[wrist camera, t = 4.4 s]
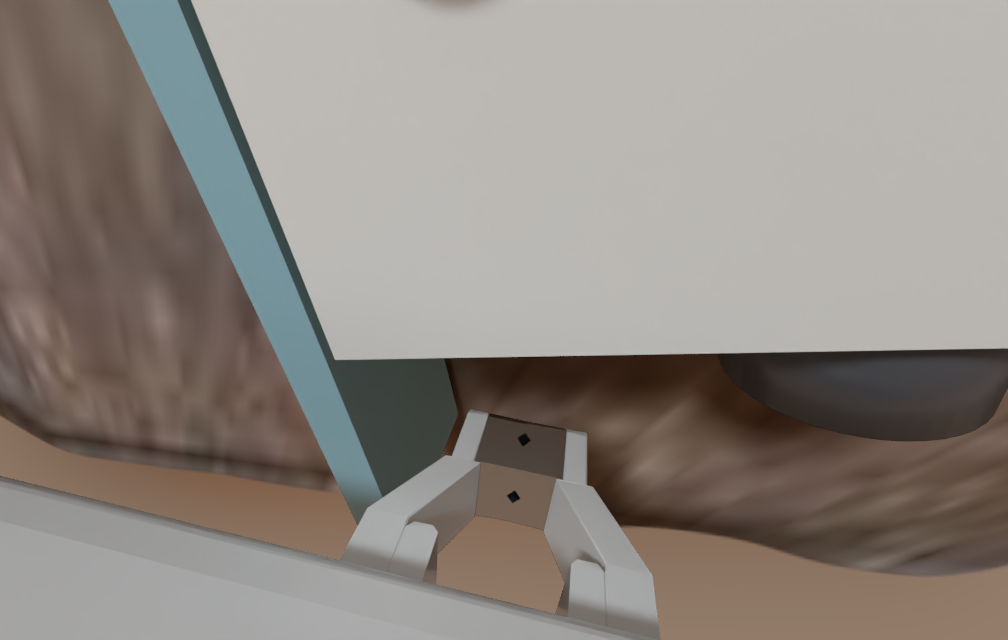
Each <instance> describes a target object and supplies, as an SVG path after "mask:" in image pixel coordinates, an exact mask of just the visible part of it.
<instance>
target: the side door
mask: <svg viewBox="0 0 1008 640" xmlns="http://www.w3.org/2000/svg"><path fill="white" fill-rule="evenodd" d="M108 1H109V3H110V5H111V7H112V9H113V11H114V13H115V15H116V17H117V20H118V22H119V24H120V26H121V28H122V30H123V32H124V34H125V36H126V39H127V41H128V43H129V45H130V47H131V49H132V51H133V53H134V55H135V58H136V60H137V62H138V64H139V66H140V68H141V70H142V72H143V74H144V76H145V79H146V81H147V83H148V85H149V87H150V89H151V91H152V93H153V95H154V98H155V100H156V102H157V104H158V106H159V108H160V110H161V112H162V114H163V117H164V119H165V121H166V123H167V125H168V127H169V129H170V131H171V133H172V135H173V138H174V140H175V142H176V144H177V146H178V148H179V150H180V152H181V154H182V157H183V159H184V161H185V163H186V165H187V167H188V169H189V171H190V173H191V176H192V178H193V180H194V182H195V184H196V186H197V188H198V190H199V192H200V194H201V197H202V199H203V201H204V203H205V205H206V207H207V209H208V211H209V213H210V216H211V218H212V220H213V222H214V224H215V226H216V228H217V230H218V232H219V235H220V237H221V239H222V241H223V243H224V245H225V247H226V249H227V251H228V253H229V256H230V258H231V260H232V262H233V264H234V266H235V268H236V270H237V272H238V275H239V277H240V279H241V281H242V283H243V285H244V287H245V289H246V291H247V294H248V296H249V298H250V300H251V302H252V304H253V306H254V308H255V310H256V312H257V315H258V317H259V319H260V321H261V323H262V325H263V327H264V329H265V331H266V334H267V336H268V338H269V340H270V342H271V344H272V346H273V348H274V350H275V353H276V355H277V357H278V359H279V361H280V363H281V365H282V367H283V369H284V371H285V374H286V376H287V378H288V380H289V382H290V384H291V386H292V388H293V390H294V393H295V395H296V397H297V399H298V401H299V403H300V405H301V407H302V409H303V412H304V414H305V416H306V418H307V420H308V422H309V424H310V426H311V428H312V430H313V433H314V435H315V437H316V439H317V441H318V443H319V445H320V447H321V449H322V452H323V454H324V456H325V458H326V460H327V462H328V464H329V466H330V468H331V471H332V473H333V475H334V477H335V479H336V481H337V483H338V485H339V487H340V489H341V492H342V494H343V496H344V498H345V500H346V502H347V504H348V506H349V508H350V511H351V513H352V515H353V517H354V519H355V521H356V523H357V525H359V523H360V521H361V519H362V517H363V515H364V513H365V512H366V510H367V508H368V507H370V506H371V505H373V504H374V503H376V502H377V501H378V500H380V499H381V498H383V497H384V496H386V495H387V494H389V493H390V492H392V491H393V490H395V489H396V488H398V487H399V486H401V485H402V484H404V483H405V482H407V481H408V480H410V479H411V478H413V477H414V476H416V475H417V474H419V473H420V472H422V471H423V470H424V469H426V468H427V467H429V466H430V465H432V464H433V463H435V462H436V461H438V460H439V459H440V458H441V456H442V453H443V451H444V448H445V446H446V443H447V441H448V439H449V436H450V434H451V431H452V429H453V426H454V424H455V421H456V419H457V417H458V411H457V407H456V403H455V399H454V395H453V391H452V387H451V383H450V379H449V375H448V372H447V368H446V364H445V360H444V358H424V359H366V360H335V359H334V356H333V354H332V351H331V349H330V346H329V344H328V341H327V339H326V336H325V334H324V331H323V329H322V326H321V324H320V321H319V319H318V316H317V314H316V311H315V309H314V306H313V304H312V301H311V299H310V296H309V294H308V291H307V289H306V286H305V284H304V281H303V279H302V276H301V274H300V271H299V269H298V266H297V264H296V261H295V259H294V256H293V254H292V251H291V249H290V246H289V244H288V241H287V239H286V236H285V234H284V231H283V229H282V226H281V224H280V221H279V219H278V216H277V214H276V211H275V209H274V206H273V204H272V201H271V199H270V196H269V194H268V191H267V189H266V186H265V184H264V181H263V179H262V176H261V174H260V171H259V169H258V166H257V164H256V161H255V159H254V156H253V154H252V151H251V149H250V146H249V144H248V141H247V139H246V136H245V134H244V131H243V129H242V126H241V124H240V121H239V119H238V116H237V114H236V111H235V109H234V106H233V104H232V101H231V99H230V97H229V94H228V92H227V89H226V87H225V84H224V82H223V79H222V77H221V74H220V72H219V69H218V67H217V64H216V62H215V59H214V57H213V54H212V52H211V49H210V47H209V44H208V42H207V39H206V37H205V34H204V32H203V29H202V27H201V24H200V22H199V19H198V17H197V14H196V12H195V9H194V7H193V4H192V2H191V0H108Z"/></svg>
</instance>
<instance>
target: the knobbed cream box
mask: <svg viewBox="0 0 1008 640" xmlns="http://www.w3.org/2000/svg"><path fill="white" fill-rule="evenodd" d="M191 2H192V4H193V7H194V9H195V12H196V14H197V17H198V19H199V22H200V24H201V27H202V29H203V32H204V34H205V37H206V39H207V42H208V44H209V47H210V49H211V52H212V54H213V57H214V59H215V62H216V64H217V67H218V69H219V72H220V74H221V77H222V79H223V82H224V84H225V87H226V89H227V92H228V94H229V97H230V99H231V101H232V104H233V106H234V109H235V111H236V114H237V116H238V119H239V121H240V124H241V126H242V129H243V131H244V134H245V136H246V139H247V141H248V144H249V146H250V149H251V151H252V154H253V156H254V159H255V161H256V164H257V166H258V169H259V171H260V174H261V176H262V179H263V181H264V184H265V186H266V189H267V191H268V194H269V196H270V199H271V201H272V204H273V206H274V209H275V211H276V214H277V216H278V219H279V221H280V224H281V226H282V229H283V231H284V234H285V236H286V239H287V241H288V244H289V246H290V249H291V251H292V254H293V256H294V259H295V261H296V264H297V266H298V269H299V271H300V274H301V276H302V279H303V281H304V284H305V286H306V289H307V291H308V294H309V296H310V299H311V301H312V304H313V306H314V309H315V311H316V314H317V316H318V319H319V321H320V324H321V326H322V329H323V331H324V334H325V336H326V339H327V341H328V344H329V346H330V349H331V351H332V354H333V356H334V359H335V360H366V359H424V358H481V357H539V356H596V355H654V354H712V353H718V357H719V360H720V364H721V366H722V367H723V369H724V371H725V372H726V374H727V375H728V376H729V377H730V379H731V380H732V381H733V382H734V383H735V384H736V385H737V386H738V387H739V388H741V389H742V390H743V391H745V392H746V393H747V394H749V395H750V396H751V397H753V398H754V399H756V400H758V401H759V402H761V403H762V404H764V405H766V406H768V407H770V408H772V409H774V410H776V411H778V412H780V413H782V414H784V415H787V416H789V417H791V418H794V419H796V420H799V421H802V422H805V423H807V424H810V425H813V426H816V427H820V428H823V429H827V430H831V431H834V432H838V433H843V434H848V435H853V436H858V437H864V438H871V439H879V440H890V441H931V440H940V439H947V438H951V437H956V436H960V435H963V434H966V433H969V432H971V431H974V430H976V429H978V428H979V427H981V426H983V425H984V424H986V423H987V422H988V421H989V420H990V419H991V418H992V417H993V416H994V414H995V412H996V410H997V408H998V406H999V404H1000V402H1001V400H1002V398H1003V396H1004V394H1005V392H1006V390H1007V388H1008V0H191Z"/></svg>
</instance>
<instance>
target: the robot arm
mask: <svg viewBox="0 0 1008 640" xmlns="http://www.w3.org/2000/svg"><path fill="white" fill-rule="evenodd" d="M587 437H588V436H587V434H586V432H580V431H575V430H570V429H563V428H558V427H553V426H548V425H543V424H538V423H533V422H527V421H522V420H518V419H514V418H509V417H505V416H500V415H496V414H492V413H490V414H489V413H485V412H481V411H477V410H472V409H470V411H469V412H468V414H467V416H466V419H465V422H464V424H463V427H462V430H461V432H460V435H459V438H458V440H457V443H456V446H455V448H454V451H453V454H452V456H448V455H445V456H444V457H442V458H441V459H439V460H438V461H436V462H435V463H433V464H432V465H430V466H429V467H427V468H426V469H424V470H423V471H422V472H420V473H419V474H417V475H416V476H414V477H413V478H411V479H410V480H408V481H407V482H405V483H404V484H402V485H401V486H399V487H398V488H396V489H395V490H393V491H392V492H390V493H389V494H387V495H386V496H384V497H383V498H381V499H380V500H378V501H377V502H376V503H374V504H373V505H371V506H370V507H368V508H367V510H366V512H365V513H364V515H363V517H362V519H361V521H360V523H359V525H358V527H357V529H356V530H355V532H354V534H353V536H352V538H351V540H350V542H349V544H348V545H347V548H346V549H345V551H344V553H343V555H342V557H341V559H340V560H336V559H332V558H328V557H324V556H319V555H316V554H312V553H308V552H304V551H300V550H295V549H292V548H288V547H283V546H280V545H276V544H272V543H268V542H264V541H259V540H255V539H252V538H247V537H244V536H240V535H236V534H232V533H227V532H223V531H219V530H215V529H211V528H207V527H203V526H199V525H195V524H191V523H187V522H183V521H179V520H175V519H171V518H167V517H163V516H159V515H155V514H151V513H147V512H143V511H139V510H135V509H131V508H127V507H123V506H119V505H115V504H111V503H107V502H103V501H99V500H95V499H91V498H87V497H83V496H79V495H75V494H71V493H67V492H62V491H59V490H55V489H51V488H46V487H43V486H39V485H35V484H31V483H27V482H23V481H18V480H14V479H11V478H7V477H3V476H0V640H660V632H659V624H658V615H657V608H656V599H655V591H654V582H653V575H652V574H651V572H650V571H649V569H648V568H647V567H646V565H645V563H644V562H643V560H642V559H641V557H640V556H639V555H638V553H637V551H636V550H635V548H634V547H633V545H632V544H631V543H630V541H629V540H628V538H627V537H626V535H625V534H624V532H623V531H622V529H621V528H620V526H619V525H618V523H617V522H616V520H615V519H614V517H613V516H612V514H611V513H610V511H609V510H608V508H607V507H606V505H605V504H604V502H603V501H602V499H601V498H600V496H599V495H598V493H597V492H596V490H595V489H594V487H591V486H587ZM475 515H479V516H484V517H489V518H494V519H500V520H504V521H510V522H513V523H517V524H521V525H525V526H529V527H533V528H537V529H541V530H544V534H545V537H546V539H547V541H548V544H549V546H550V549H551V551H552V554H553V556H554V558H555V561H556V563H557V565H558V568H559V570H560V573H561V575H562V577H563V580H564V582H565V585H564V588H563V591H562V594H561V597H560V600H559V604H558V607H557V610H556V613H555V614H552V613H549V612H545V611H541V610H537V609H533V608H529V607H525V606H521V605H517V604H512V603H509V602H505V601H500V600H497V599H493V598H488V597H485V596H480V595H476V594H472V593H468V592H464V591H460V590H456V589H452V588H448V587H444V586H440V585H436V570H437V554H438V553H439V552H440V551H441V550H442V549H443V548H444V547H445V546H446V545H447V544H448V543H449V542H450V541H451V540H452V539H453V538H454V537H455V536H456V535H457V534H458V533H459V532H460V531H461V530H462V529H463V528H464V527H465V526H466V525H467V524H468V523H469V522H470V521H471V520H472V519H473V518H474V517H475Z"/></svg>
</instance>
